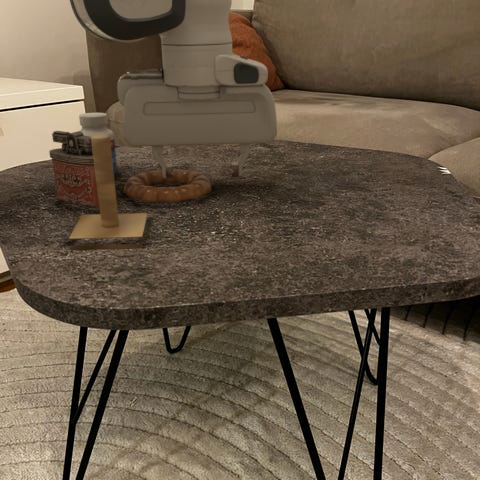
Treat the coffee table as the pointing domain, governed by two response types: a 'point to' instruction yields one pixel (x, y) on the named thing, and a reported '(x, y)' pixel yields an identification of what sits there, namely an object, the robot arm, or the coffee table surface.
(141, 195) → the ring
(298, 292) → the coffee table surface
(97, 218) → the paper towel holder
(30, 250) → the coffee table surface
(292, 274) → the coffee table surface
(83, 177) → the lighter
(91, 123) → the pill bottle
